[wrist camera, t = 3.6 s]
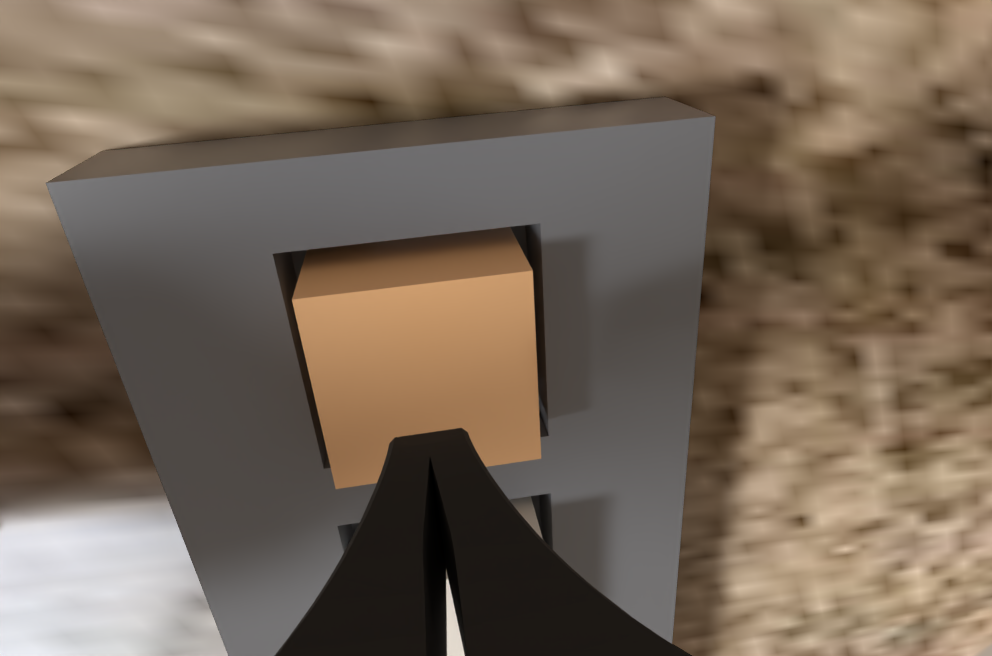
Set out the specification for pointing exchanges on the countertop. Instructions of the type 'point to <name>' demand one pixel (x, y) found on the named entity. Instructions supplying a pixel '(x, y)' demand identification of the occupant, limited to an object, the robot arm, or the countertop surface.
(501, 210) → the keypad
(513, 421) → the orange key
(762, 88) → the countertop surface
